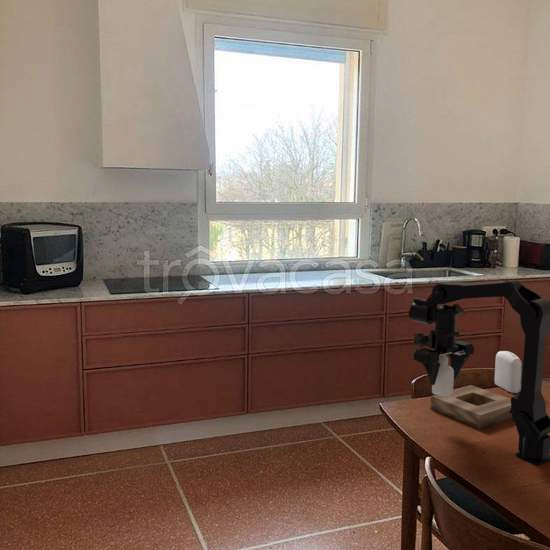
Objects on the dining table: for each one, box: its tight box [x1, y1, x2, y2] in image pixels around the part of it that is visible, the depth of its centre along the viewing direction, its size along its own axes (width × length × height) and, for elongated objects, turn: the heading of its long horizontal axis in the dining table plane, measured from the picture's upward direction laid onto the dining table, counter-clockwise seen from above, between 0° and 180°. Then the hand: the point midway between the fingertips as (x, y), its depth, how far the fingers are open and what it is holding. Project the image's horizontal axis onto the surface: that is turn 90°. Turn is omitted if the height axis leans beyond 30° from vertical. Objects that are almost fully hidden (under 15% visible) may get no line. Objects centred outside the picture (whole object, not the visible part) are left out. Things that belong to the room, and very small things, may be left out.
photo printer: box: [494, 350, 523, 394], centre depth 198 cm, size 10×4×12 cm, turn 13°
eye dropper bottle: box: [431, 355, 455, 397], centre depth 166 cm, size 4×6×12 cm
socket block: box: [430, 384, 512, 429], centre depth 178 cm, size 18×18×4 cm
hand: (443, 381), depth 167 cm, fingers closed on eye dropper bottle, 8 cm apart
